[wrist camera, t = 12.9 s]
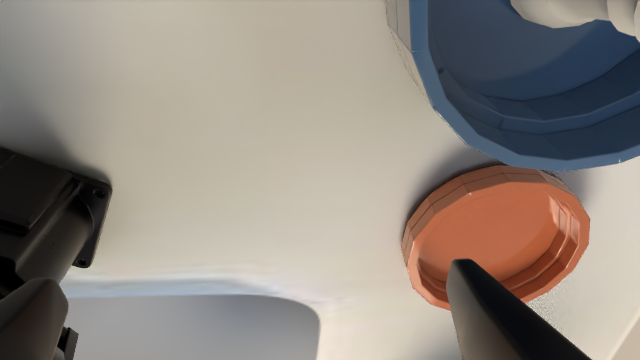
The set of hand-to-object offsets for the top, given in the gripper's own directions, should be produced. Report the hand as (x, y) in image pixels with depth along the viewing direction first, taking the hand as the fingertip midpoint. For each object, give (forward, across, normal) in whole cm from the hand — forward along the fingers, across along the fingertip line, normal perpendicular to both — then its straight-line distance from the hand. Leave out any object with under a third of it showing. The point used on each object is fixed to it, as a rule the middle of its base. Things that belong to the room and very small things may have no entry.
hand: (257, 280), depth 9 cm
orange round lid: (+12, -12, +10) cm, 19 cm away
